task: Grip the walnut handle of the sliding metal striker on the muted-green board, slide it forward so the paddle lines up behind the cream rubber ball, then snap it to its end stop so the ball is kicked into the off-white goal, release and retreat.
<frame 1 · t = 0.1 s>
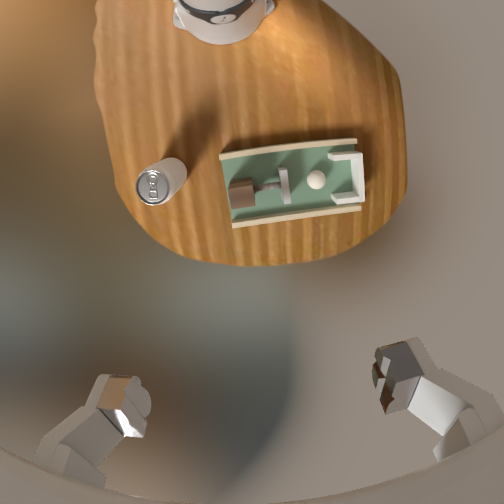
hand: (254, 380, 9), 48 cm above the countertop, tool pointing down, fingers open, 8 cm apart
striker: (259, 189, 49), point 5 cm above the countertop, slide at 0.0 cm
pitch: (292, 179, 53), on the countertop
can: (171, 173, 53), on the countertop
ball: (316, 179, 50), point 3 cm above the countertop, touching pitch
goal: (344, 174, 52), resting on pitch
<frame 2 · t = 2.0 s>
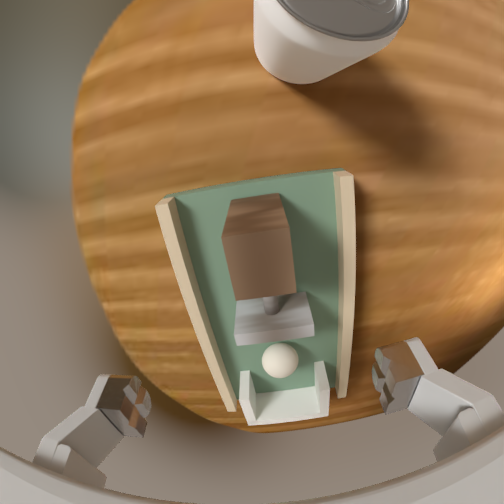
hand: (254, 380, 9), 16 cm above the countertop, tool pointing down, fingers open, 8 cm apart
striker: (266, 280, 20), point 5 cm above the countertop, slide at 0.0 cm
pitch: (273, 310, 27), on the countertop
can: (297, 47, 17), on the countertop
ball: (280, 360, 26), point 3 cm above the countertop, touching pitch
goal: (284, 383, 30), resting on pitch
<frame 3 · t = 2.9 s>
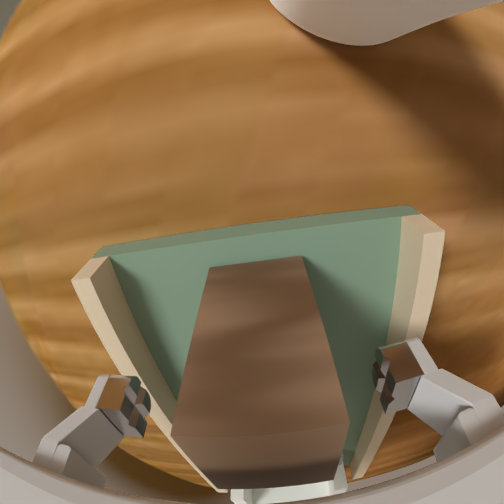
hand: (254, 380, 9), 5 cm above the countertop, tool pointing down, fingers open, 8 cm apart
striker: (273, 415, 10), point 5 cm above the countertop, slide at 0.0 cm
pitch: (279, 403, 17), on the countertop
goal: (288, 467, 20), resting on pitch
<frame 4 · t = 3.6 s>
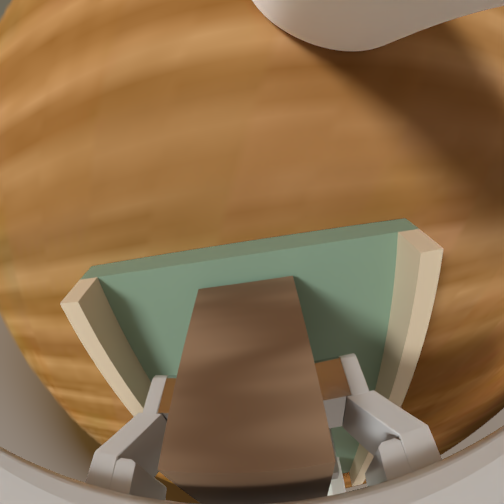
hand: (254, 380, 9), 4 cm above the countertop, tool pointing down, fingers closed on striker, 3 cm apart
striker: (267, 435, 10), point 5 cm above the countertop, slide at 0.0 cm, touching gripper
pitch: (275, 415, 17), on the countertop
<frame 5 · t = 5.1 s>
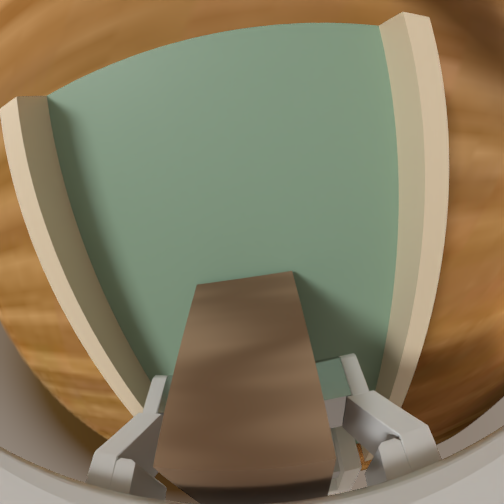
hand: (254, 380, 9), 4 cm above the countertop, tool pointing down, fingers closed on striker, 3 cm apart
striker: (266, 433, 9), point 5 cm above the countertop, slide at 7.5 cm, touching gripper
pitch: (259, 334, 13), on the countertop
goal: (280, 444, 17), resting on pitch
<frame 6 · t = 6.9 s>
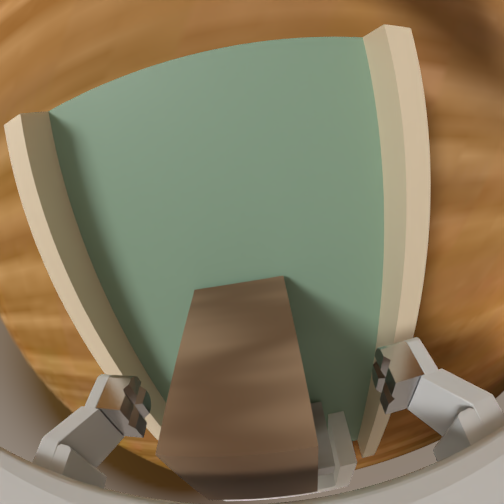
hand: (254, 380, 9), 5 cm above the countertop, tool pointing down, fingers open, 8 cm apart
striker: (262, 429, 10), point 5 cm above the countertop, slide at 7.5 cm
pitch: (254, 334, 14), on the countertop
goal: (278, 442, 17), resting on pitch
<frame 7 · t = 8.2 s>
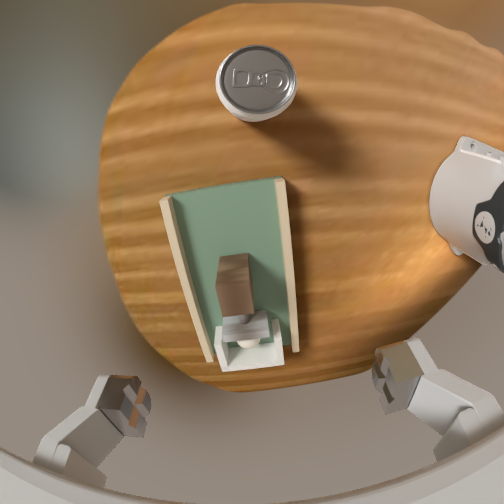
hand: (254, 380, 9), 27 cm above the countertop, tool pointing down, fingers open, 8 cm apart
striker: (240, 304, 35), point 5 cm above the countertop, slide at 7.5 cm
pitch: (238, 276, 39), on the countertop
can: (252, 95, 29), on the countertop
ball: (248, 336, 39), point 3 cm above the countertop, tilted 130°, touching pitch
goal: (249, 338, 42), resting on pitch
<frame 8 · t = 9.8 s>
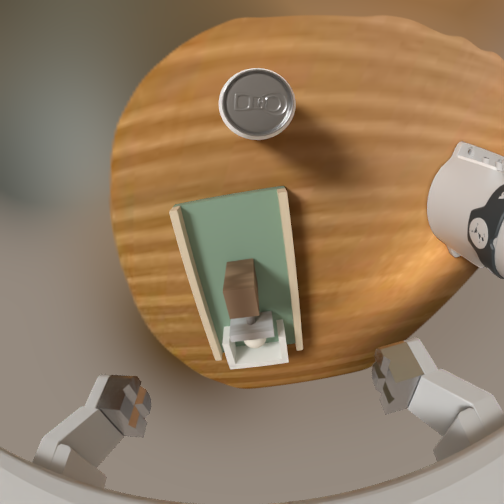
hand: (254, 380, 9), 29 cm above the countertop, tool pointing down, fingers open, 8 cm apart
striker: (246, 306, 37), point 5 cm above the countertop, slide at 7.5 cm
pitch: (245, 280, 41), on the countertop
can: (254, 109, 31), on the countertop
ball: (254, 336, 42), point 3 cm above the countertop, tilted 136°, touching pitch
goal: (256, 337, 44), resting on pitch
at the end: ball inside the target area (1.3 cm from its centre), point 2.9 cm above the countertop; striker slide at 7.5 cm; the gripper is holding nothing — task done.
